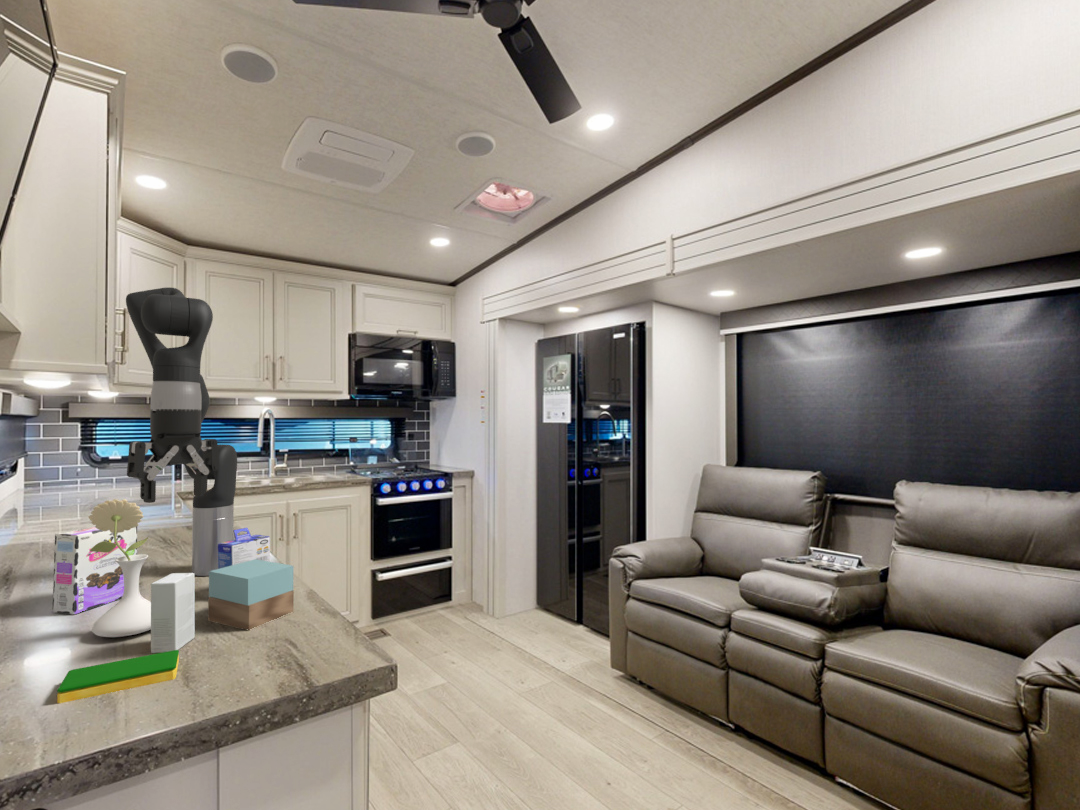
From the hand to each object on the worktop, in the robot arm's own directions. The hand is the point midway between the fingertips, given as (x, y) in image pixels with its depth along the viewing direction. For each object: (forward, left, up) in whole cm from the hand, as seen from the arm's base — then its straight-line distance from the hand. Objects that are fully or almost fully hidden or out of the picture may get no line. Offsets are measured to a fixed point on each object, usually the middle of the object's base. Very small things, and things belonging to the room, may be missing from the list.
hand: (175, 498), depth 95 cm
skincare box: (0, 0, -26) cm, 26 cm away
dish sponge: (+11, +6, -26) cm, 29 cm away
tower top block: (-15, 0, -21) cm, 26 cm away
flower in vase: (0, -15, -26) cm, 30 cm away
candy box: (-7, -38, -26) cm, 47 cm away
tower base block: (-15, 0, -26) cm, 30 cm away
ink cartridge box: (-25, -15, -26) cm, 39 cm away
